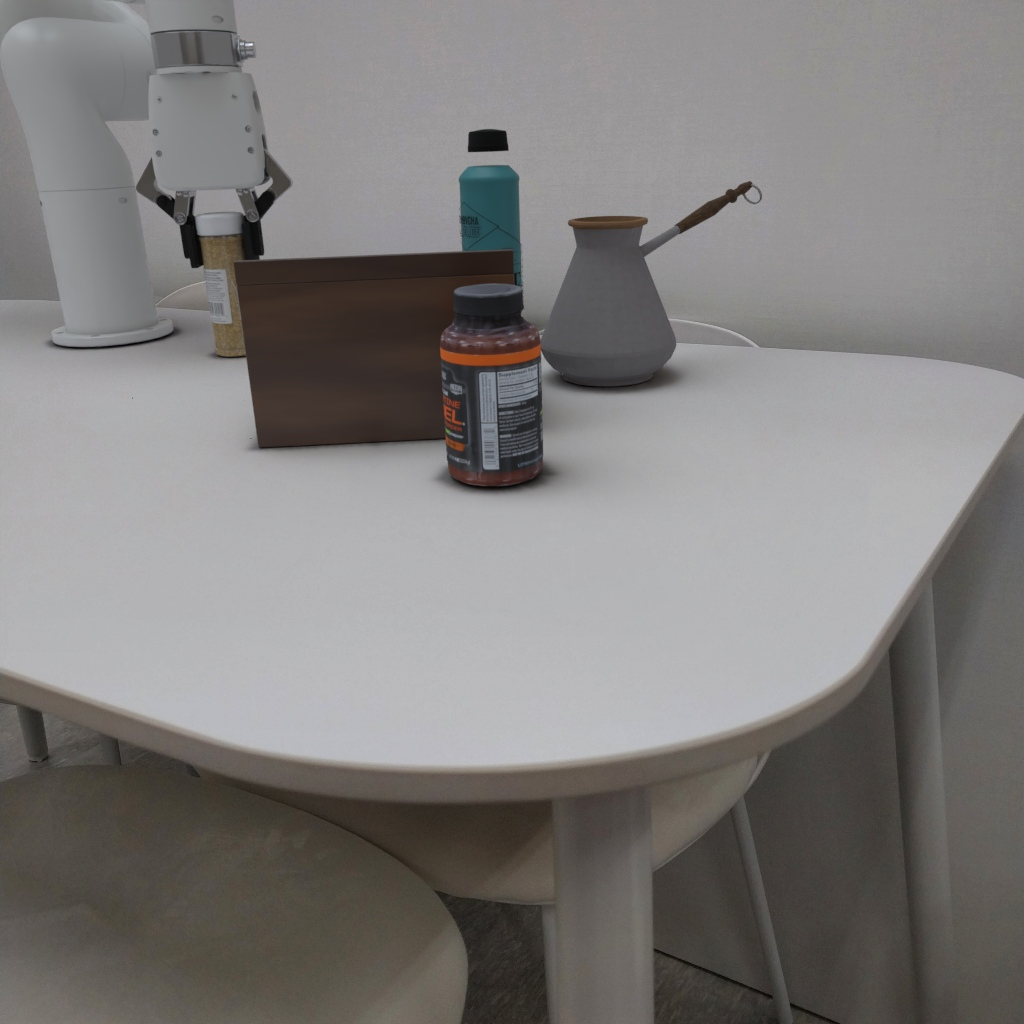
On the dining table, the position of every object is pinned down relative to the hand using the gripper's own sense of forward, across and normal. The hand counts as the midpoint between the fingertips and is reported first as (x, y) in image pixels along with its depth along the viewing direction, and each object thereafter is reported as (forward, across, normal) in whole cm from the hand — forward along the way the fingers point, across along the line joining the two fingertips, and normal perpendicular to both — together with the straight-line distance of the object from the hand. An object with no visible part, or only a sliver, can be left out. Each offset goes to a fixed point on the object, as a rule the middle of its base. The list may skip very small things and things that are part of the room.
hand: (225, 263), depth 94 cm
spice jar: (+9, 0, 0) cm, 9 cm away
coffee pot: (+9, -39, +15) cm, 43 cm away
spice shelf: (+9, -17, +25) cm, 31 cm away
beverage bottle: (+9, -26, -7) cm, 28 cm away
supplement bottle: (+9, -24, +41) cm, 48 cm away
